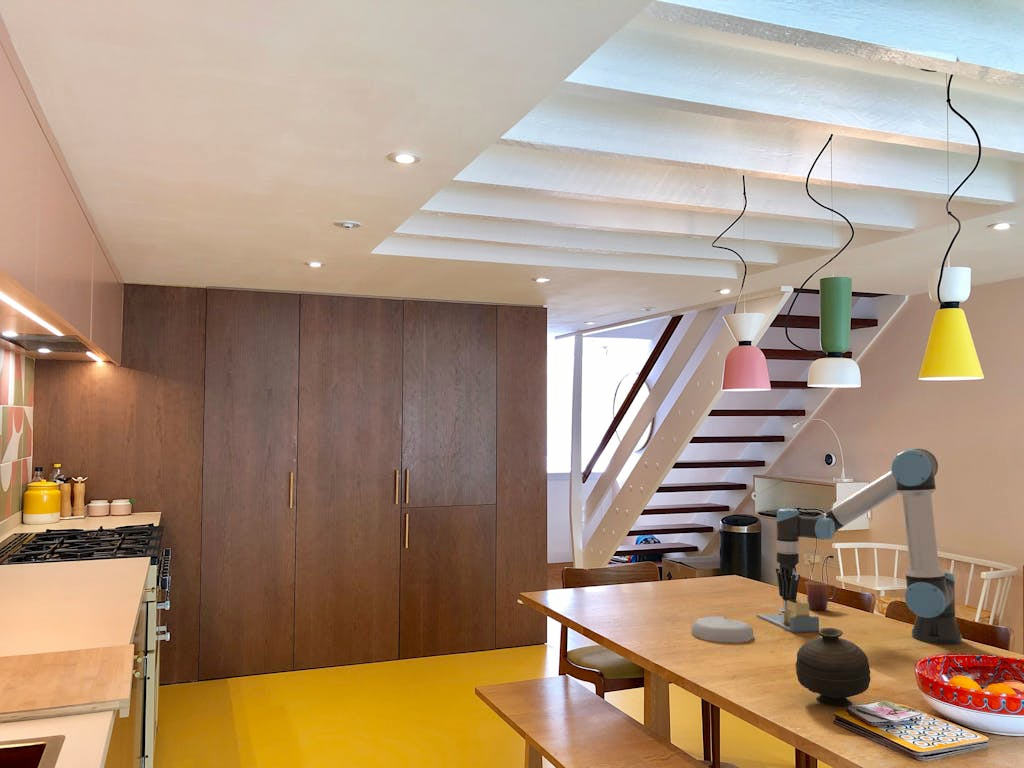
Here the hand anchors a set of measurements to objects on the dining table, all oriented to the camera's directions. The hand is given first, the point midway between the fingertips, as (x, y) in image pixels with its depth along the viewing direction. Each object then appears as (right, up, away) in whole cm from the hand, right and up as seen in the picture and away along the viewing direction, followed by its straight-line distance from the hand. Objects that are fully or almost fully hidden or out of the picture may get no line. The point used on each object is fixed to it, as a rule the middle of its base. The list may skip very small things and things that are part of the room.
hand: (787, 618), depth 298 cm
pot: (-17, +1, -87) cm, 88 cm away
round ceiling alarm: (-28, -3, -16) cm, 32 cm away
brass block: (+1, -1, -7) cm, 7 cm away
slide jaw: (+1, -1, -3) cm, 3 cm away
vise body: (0, -3, +1) cm, 3 cm away
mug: (+23, -5, +29) cm, 37 cm away
